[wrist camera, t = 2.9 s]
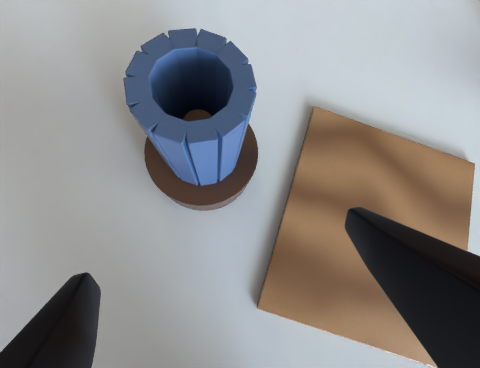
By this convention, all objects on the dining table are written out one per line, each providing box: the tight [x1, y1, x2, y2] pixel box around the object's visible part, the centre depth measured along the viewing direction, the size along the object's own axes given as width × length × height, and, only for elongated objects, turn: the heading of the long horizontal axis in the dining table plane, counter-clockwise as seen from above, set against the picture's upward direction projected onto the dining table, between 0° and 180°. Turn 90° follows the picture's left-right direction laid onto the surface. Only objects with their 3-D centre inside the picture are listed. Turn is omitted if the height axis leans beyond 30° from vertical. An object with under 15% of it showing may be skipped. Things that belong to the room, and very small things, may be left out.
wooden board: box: [257, 107, 475, 368], centre depth 22 cm, size 20×18×1 cm
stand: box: [145, 110, 258, 210], centre depth 18 cm, size 9×9×8 cm
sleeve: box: [124, 28, 257, 186], centre depth 15 cm, size 6×6×8 cm
